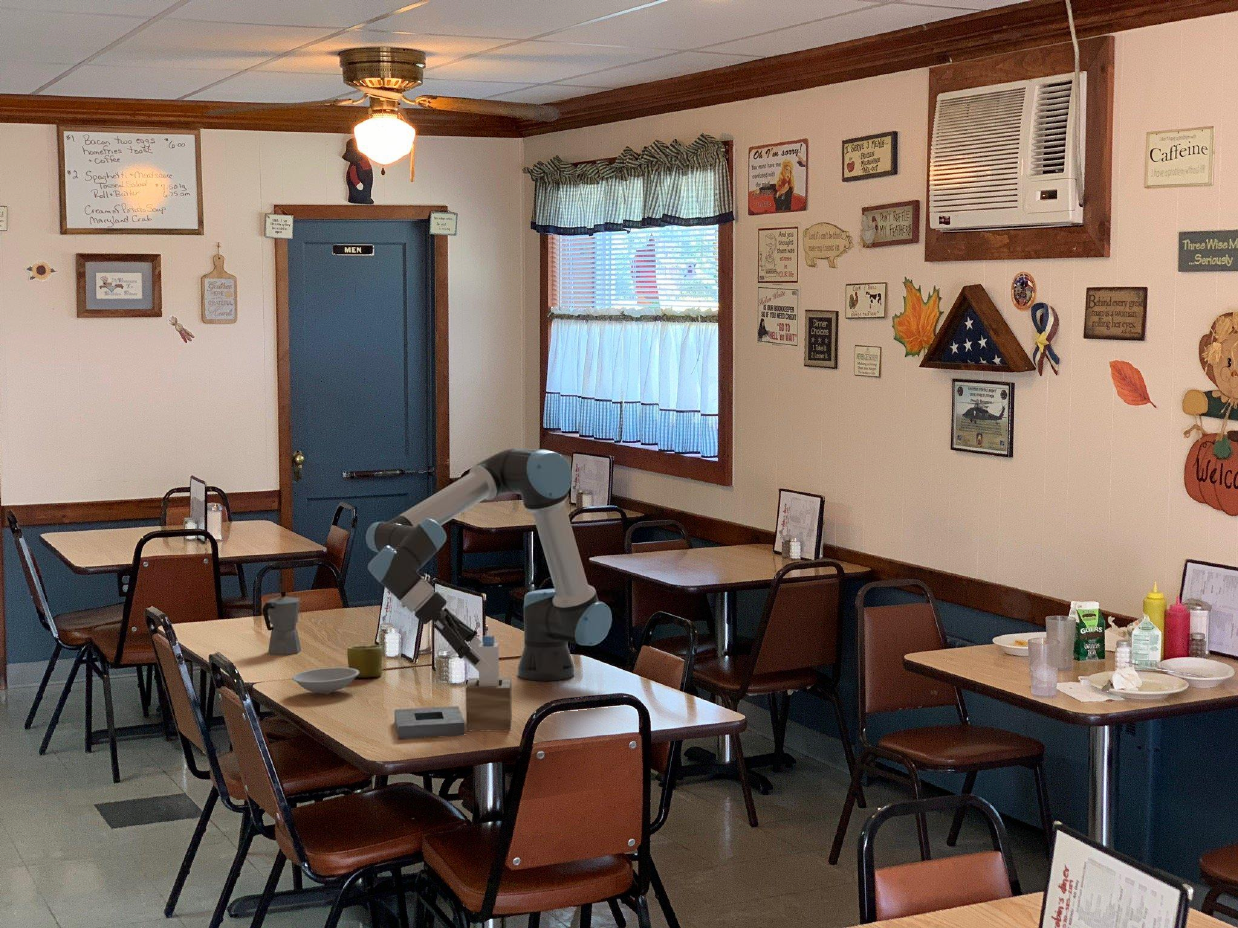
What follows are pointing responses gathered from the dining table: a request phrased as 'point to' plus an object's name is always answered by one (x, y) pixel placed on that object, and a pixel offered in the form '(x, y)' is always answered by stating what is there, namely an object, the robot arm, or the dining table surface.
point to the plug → (489, 661)
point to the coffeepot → (282, 624)
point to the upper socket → (488, 705)
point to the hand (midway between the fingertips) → (490, 665)
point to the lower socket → (429, 722)
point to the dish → (325, 679)
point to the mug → (366, 660)
